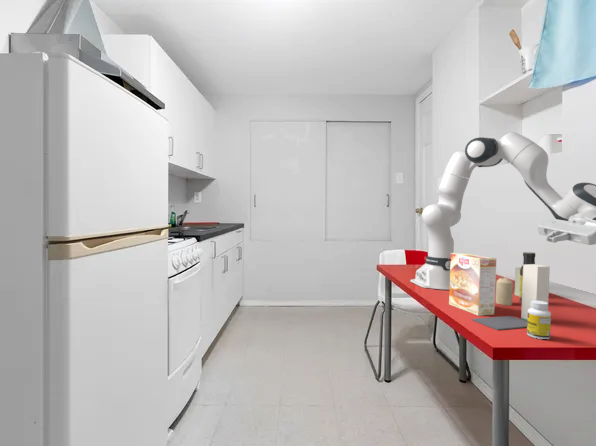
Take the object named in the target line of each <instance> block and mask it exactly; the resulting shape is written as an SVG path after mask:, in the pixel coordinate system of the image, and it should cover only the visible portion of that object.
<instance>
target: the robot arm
mask: <svg viewBox="0 0 596 446" xmlns="http://www.w3.org/2000/svg"><path fill="white" fill-rule="evenodd" d="M503 160H505V161H507V162H508V163H509V164H510V165H511V166H513V167H514V168H515V169H516V170H517V171H518V172H519V174H520V175H521V177H522V178H523V181H524V183H525V185H526V186H527V187H528V188H529V190H530V191H531V192H532V193H533V194H534V195H535V196H536V197H537V198H538V199H539V200H540V201H541V202H542V203H543V204H544V206H545V207H546V208H547V209H548V211H550V212H551V214H552V216H553V217H554V218H555V219H551V220H547V221H545V222H544V221H543V222H541V223H539V224H538V225H537V231H538V234H539V235H542V236H546V237H545V239H546V240H545V241H546V242H550V243H557V242H564V241H570V242H575V243H577V244H583V245H588V246H593V245H596V184H595V183H591V182H579V183H576V184H574V185H573V186H572V187H571V188H570V189H569V191H568V192H567V193H566V195H565V196H563V197H562V196H561V195H560V194H559V193H558V192H557V191H556V190H555V188H553V187H552V186H551V185H550V184H549V182H548V179H547V172H548V166H549V155H548V153H547V152H546V150H545V149H544V148H543V147H542V146H540V144H539V145H538V144H537V143H536V142H534V140H532V139H530V138H528V137H526V136H524V135H522V134H520V133H517V132H509V133H508V132H507V133H506V134H504V135H503V136H501V138H500V139H495V138H494V137H492V138H491V137H481V136H480V137H475V138H473V139H470V140H469V141H468V142H467V144H466V146H465V148H464V150H457V151H455V152H454V153H453V154H452V155H451V157H450V159H449V160H448V163H447V164H446V167H445V169H444V172H443V174H442V177H441V180H440V183H439V184H438V185H439V186H438V202H437V203H432V204H429V205H427V206H426V207H424V209H423V210H422V213H421V219H422V221H423V223H424V225H425V228H426V233H427V241H428V243H427V245H428V247H427V249H428V250H427V256H424V259H425V261H424V262H425V263H424V264H423V265H422V266H420V267H419V268H418V269H416V271H415V278H411V279H410V281H409V282H410V283H413V284H414V285H417V286H419V287H421V288H424V289H426V288H428V289H432V290H433V289H436V290H449V291H450V263H451V253H455V252H454V251H455V250H454V249H455V239H454V238H453V236H452V231H451V228H452V227H453V226H455V225H457V224H458V223H459V222H460V220H461V218H462V213H461V210H462V204H463V198H464V195H465V192H466V189H467V186H468V184H469V181H470V178H471V176H472V174H473V170H475V168H476V167H478V168H490V167H495V166H497V165H498V164H500V163H501V162H502V161H503Z"/></svg>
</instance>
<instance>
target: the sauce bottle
mask: <svg viewBox="0 0 596 446" xmlns="http://www.w3.org/2000/svg"><path fill="white" fill-rule="evenodd" d="M522 256H523V257H522V258H523V262H522V263H523V264H522V265H521V266H520V267H519V268H520V285H519V296H518V297H519V302H520V303H521V304H522V286H523V265H525V264H536V259H535V258H536V252H533V251H532V252H531V251H523V253H522Z"/></svg>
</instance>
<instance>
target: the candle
mask: <svg viewBox="0 0 596 446" xmlns="http://www.w3.org/2000/svg"><path fill="white" fill-rule="evenodd" d="M513 291H514V282H513V280H510V279H509V278H507V277H500V278H498V279H496V284H495V304H497V305H501V306H513V296H514V292H513Z"/></svg>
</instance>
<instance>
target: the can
mask: <svg viewBox="0 0 596 446" xmlns="http://www.w3.org/2000/svg"><path fill="white" fill-rule="evenodd" d="M520 268H521V267H515V271H514V272H515V274H514V279H515V280H514V292H513V296H516V297H519V285H520Z"/></svg>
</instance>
